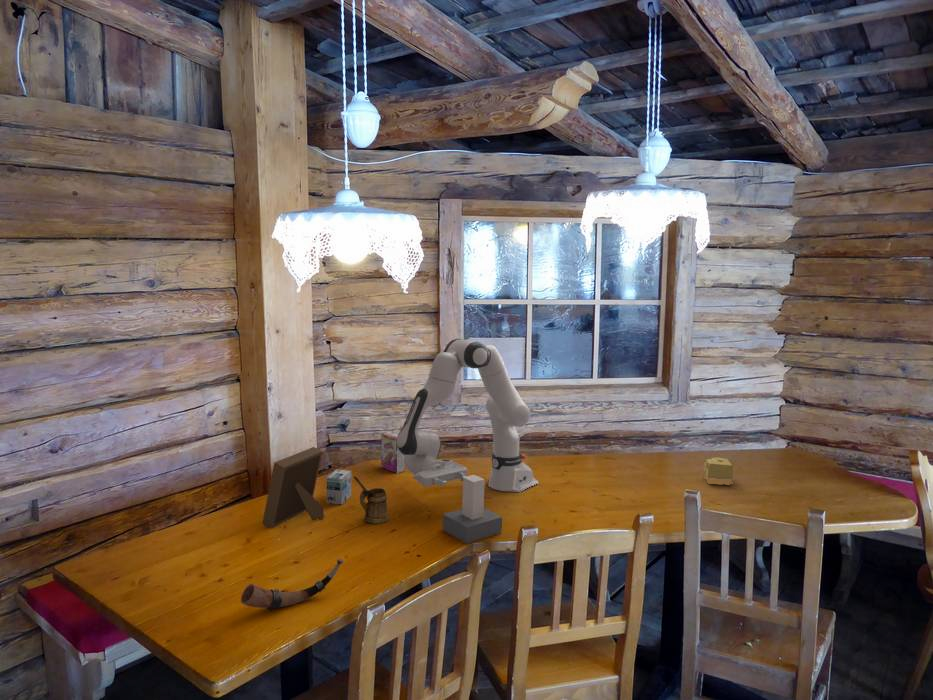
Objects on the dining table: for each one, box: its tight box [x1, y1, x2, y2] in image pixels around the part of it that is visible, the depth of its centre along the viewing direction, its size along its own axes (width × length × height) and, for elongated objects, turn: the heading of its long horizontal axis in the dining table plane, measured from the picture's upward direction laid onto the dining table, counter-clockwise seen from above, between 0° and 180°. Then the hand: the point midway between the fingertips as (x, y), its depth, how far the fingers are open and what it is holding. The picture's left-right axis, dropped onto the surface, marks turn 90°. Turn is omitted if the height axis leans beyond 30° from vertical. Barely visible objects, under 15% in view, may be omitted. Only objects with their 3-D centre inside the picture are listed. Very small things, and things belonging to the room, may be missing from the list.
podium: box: [442, 507, 503, 545], centre depth 251 cm, size 16×14×6 cm
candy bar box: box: [380, 431, 405, 474], centre depth 314 cm, size 11×5×16 cm, turn 46°
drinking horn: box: [240, 558, 344, 610], centre depth 199 cm, size 6×30×10 cm, turn 125°
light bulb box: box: [326, 468, 352, 505], centre depth 277 cm, size 11×7×11 cm, turn 168°
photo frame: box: [261, 446, 325, 530], centre depth 255 cm, size 15×22×25 cm
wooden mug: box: [353, 475, 390, 525], centre depth 258 cm, size 9×14×18 cm, turn 115°
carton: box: [461, 474, 486, 520], centre depth 250 cm, size 5×6×14 cm
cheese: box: [702, 457, 734, 480], centre depth 312 cm, size 10×11×10 cm
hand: (454, 481), depth 258 cm, fingers open, 8 cm apart
